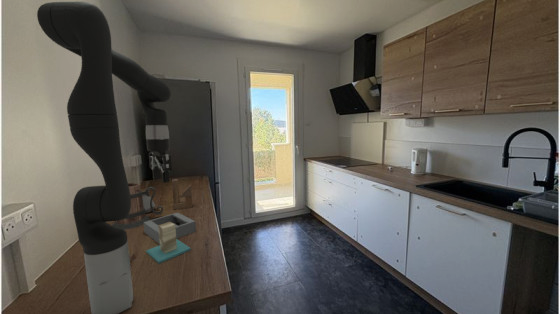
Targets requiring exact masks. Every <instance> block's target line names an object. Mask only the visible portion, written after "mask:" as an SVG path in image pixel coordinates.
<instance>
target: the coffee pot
mask: <svg viewBox="0 0 560 314" xmlns="http://www.w3.org/2000/svg"><path fill="white" fill-rule="evenodd" d="M148 187H149V181H146V183H145V188H143V189H141V191H142V192H144V191H145V190H146V189H147V188H148ZM148 191H149V192H150V191H151V189H149V190H148ZM151 197H152V196H151V195H150V196H147V195H146V194H145V193H143V194H142V199H143V206H144V208H145V214H148V213H151V212H152V210H151V207H150V200H151ZM152 207H153V209H154V210H155V208H156V203H155V202H154V200H153V199H152Z"/></svg>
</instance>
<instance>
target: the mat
mask: <svg viewBox="0 0 560 314" xmlns="http://www.w3.org/2000/svg"><path fill="white" fill-rule="evenodd" d="M176 242H177V249H175V250H173V251H170V252H168V253H166V254H165V253H164V252H163V251H161V250H160V244H158V245H157V246H155V247H151V248H148V249H146V250H145V252H146V254H147V255H148V256H149V257H151V258H152V259H153V260H154V261H156V263H157V264H162V263H164V262H166V261H168V260H171V259H174V258H176V257H179V256H180V255H182V254H184V253H187V252H189V251H191V250H192V248H191V247H190V246H188V245H187V244H185V243H183V242H182V241H180V240H179V239H178V238H177V239H176Z"/></svg>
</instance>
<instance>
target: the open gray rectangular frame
mask: <svg viewBox="0 0 560 314" xmlns="http://www.w3.org/2000/svg"><path fill="white" fill-rule="evenodd" d="M167 222H171V223H173V224H175V229H176V239H177V240H178V239H179V238H182V237H185V236H187V235H190V234H192V233H195V232H197V226H196V220H193V219H191V218H190V217H187V216H185V215H184V214H181V213H180V212H175V213H171V214H167V215H164V216H160V217H157V218H153V219H150V221H146V222H143V223H144V225H143V230H144V231H143V232H144V234H145V235H147V236H148V237H150V238H151V239H152V240H154V242H155V243H157V244H158V245H160V240H159V228H158V225H161V224H164V223H167ZM178 224H179V225H178Z"/></svg>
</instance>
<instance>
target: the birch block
mask: <svg viewBox="0 0 560 314" xmlns="http://www.w3.org/2000/svg"><path fill="white" fill-rule="evenodd" d="M175 224H176V223H175ZM175 224H173V223H171V222H167V223H164V224H161V225H158V228H159V240H160V244H159V245H160V250H161V251H163V252H164V253H165V254H166V253H168V252H170V251H173V250H175V249H177V242H176V229H175Z"/></svg>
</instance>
